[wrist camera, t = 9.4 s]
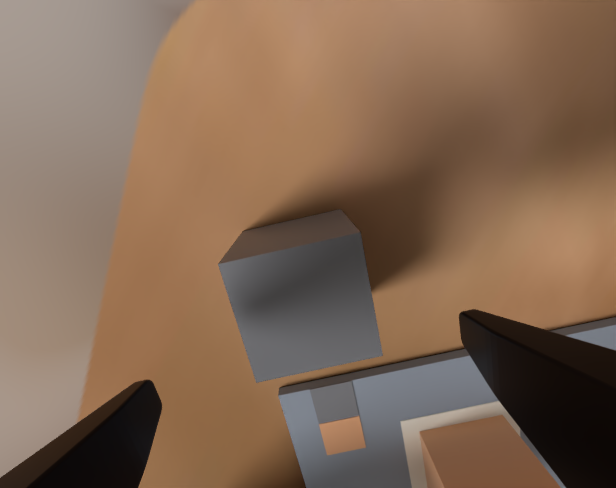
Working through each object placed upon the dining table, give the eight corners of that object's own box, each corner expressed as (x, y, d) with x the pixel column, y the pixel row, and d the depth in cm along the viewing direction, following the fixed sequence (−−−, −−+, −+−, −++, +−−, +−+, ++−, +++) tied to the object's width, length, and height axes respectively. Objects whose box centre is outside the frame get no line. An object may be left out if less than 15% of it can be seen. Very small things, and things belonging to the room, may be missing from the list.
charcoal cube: (268, 317, 17) (256, 382, 12) (243, 230, 15) (217, 264, 10) (357, 298, 16) (382, 355, 12) (340, 208, 15) (360, 232, 10)
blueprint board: (327, 548, 22) (327, 560, 21) (279, 388, 18) (278, 396, 17) (610, 493, 21) (620, 503, 20) (623, 315, 17) (635, 321, 17)
